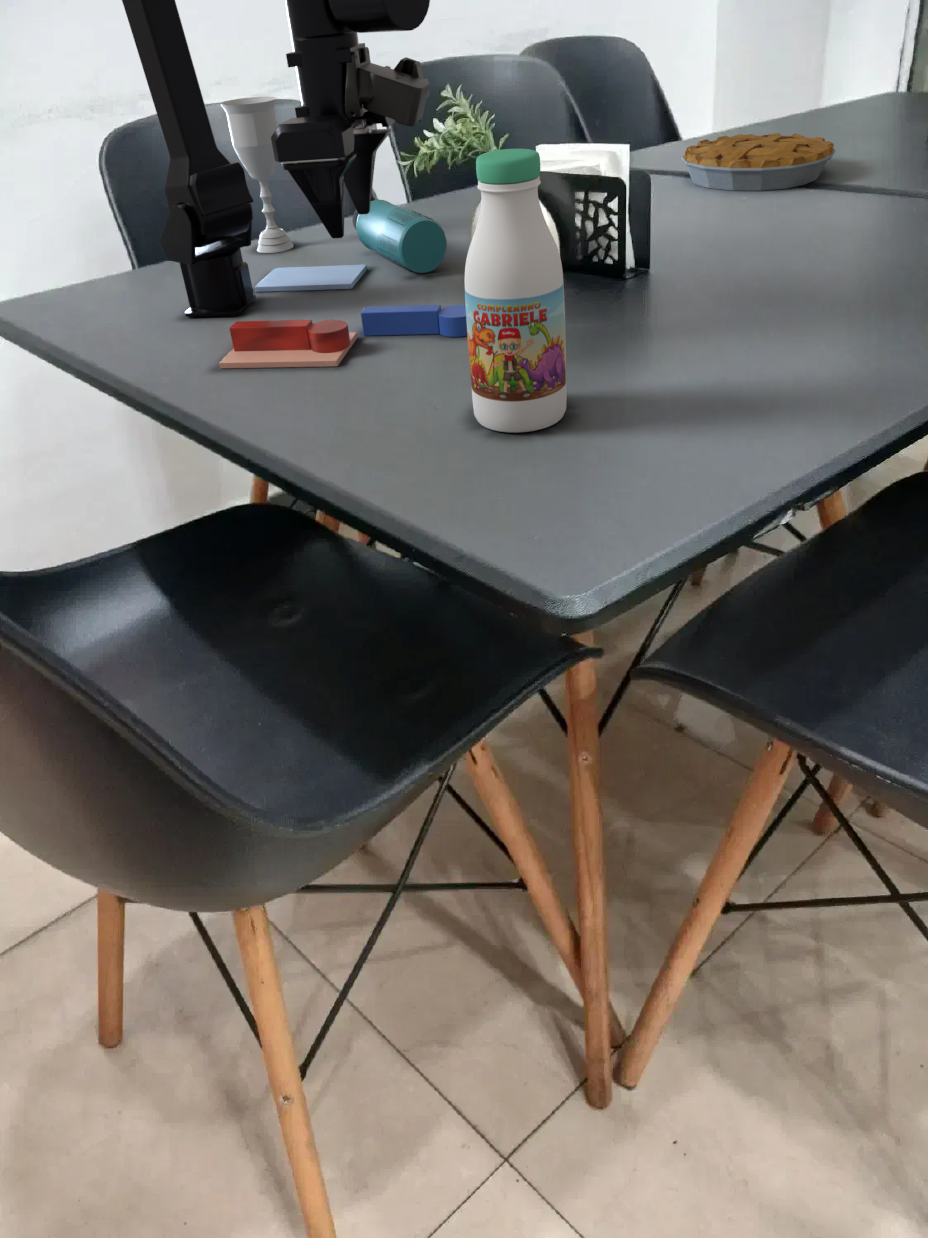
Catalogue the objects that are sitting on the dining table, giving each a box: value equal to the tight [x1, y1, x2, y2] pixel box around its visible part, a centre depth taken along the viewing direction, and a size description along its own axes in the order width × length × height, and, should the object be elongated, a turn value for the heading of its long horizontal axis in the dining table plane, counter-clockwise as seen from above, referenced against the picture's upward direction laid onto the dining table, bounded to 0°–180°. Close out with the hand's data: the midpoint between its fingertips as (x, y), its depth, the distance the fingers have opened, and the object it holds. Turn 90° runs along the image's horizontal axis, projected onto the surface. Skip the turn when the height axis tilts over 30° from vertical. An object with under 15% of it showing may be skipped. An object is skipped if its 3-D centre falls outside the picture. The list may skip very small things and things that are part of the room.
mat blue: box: [254, 264, 368, 293], centre depth 118 cm, size 12×8×1 cm, turn 81°
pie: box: [680, 132, 836, 192], centre depth 144 cm, size 22×22×5 cm
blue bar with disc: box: [360, 304, 468, 338], centre depth 99 cm, size 12×4×2 cm, turn 81°
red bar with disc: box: [228, 318, 350, 353], centre depth 97 cm, size 12×4×2 cm, turn 81°
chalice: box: [219, 96, 294, 254], centre depth 128 cm, size 7×7×18 cm
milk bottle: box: [464, 148, 568, 433], centre depth 75 cm, size 8×8×20 cm
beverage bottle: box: [352, 199, 448, 275], centre depth 121 cm, size 6×7×20 cm
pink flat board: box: [218, 331, 359, 369], centre depth 98 cm, size 12×8×1 cm, turn 81°
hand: (351, 225), depth 92 cm, fingers open, 9 cm apart
